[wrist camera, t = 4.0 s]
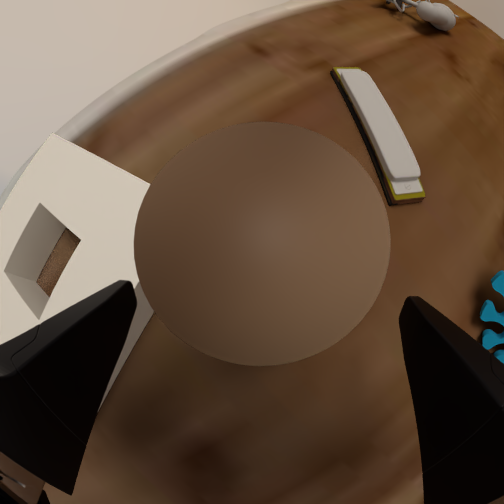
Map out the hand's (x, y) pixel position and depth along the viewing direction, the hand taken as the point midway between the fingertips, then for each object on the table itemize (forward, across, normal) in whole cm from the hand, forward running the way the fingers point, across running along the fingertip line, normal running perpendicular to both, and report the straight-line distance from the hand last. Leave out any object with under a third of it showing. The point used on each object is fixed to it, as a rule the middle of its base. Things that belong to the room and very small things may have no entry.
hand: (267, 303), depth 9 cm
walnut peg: (+7, 0, +6) cm, 9 cm away
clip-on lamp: (+39, -24, -26) cm, 53 cm away
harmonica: (+18, -8, -4) cm, 20 cm away
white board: (+7, +15, +5) cm, 18 cm away
